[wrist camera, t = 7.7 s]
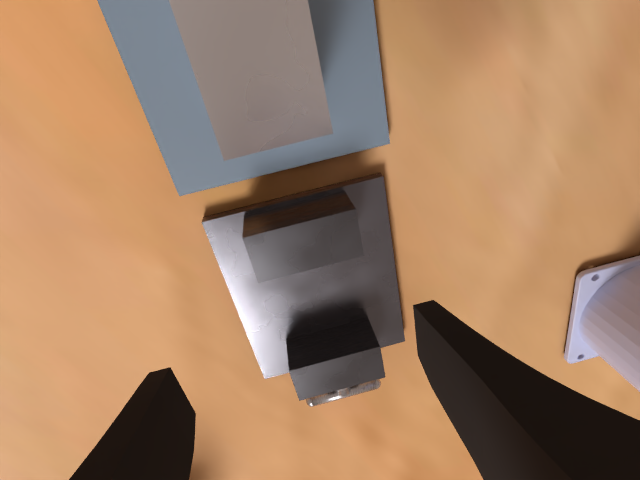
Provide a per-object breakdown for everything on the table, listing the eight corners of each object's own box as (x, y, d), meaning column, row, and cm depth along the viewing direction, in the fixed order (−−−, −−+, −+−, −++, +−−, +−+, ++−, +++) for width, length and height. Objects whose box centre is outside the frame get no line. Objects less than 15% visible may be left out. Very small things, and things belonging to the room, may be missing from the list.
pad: (352, -138, 13) (356, -146, 13) (386, 140, 18) (389, 143, 17) (71, -76, 13) (63, -81, 12) (181, 191, 18) (179, 196, 17)
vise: (379, 172, 19) (400, 193, 16) (404, 355, 25) (421, 391, 22) (203, 217, 18) (194, 245, 16) (272, 391, 24) (274, 432, 22)
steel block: (284, -27, 14) (296, -59, 10) (313, 111, 16) (333, 133, 12) (189, -4, 14) (159, -27, 10) (232, 131, 16) (223, 160, 12)
